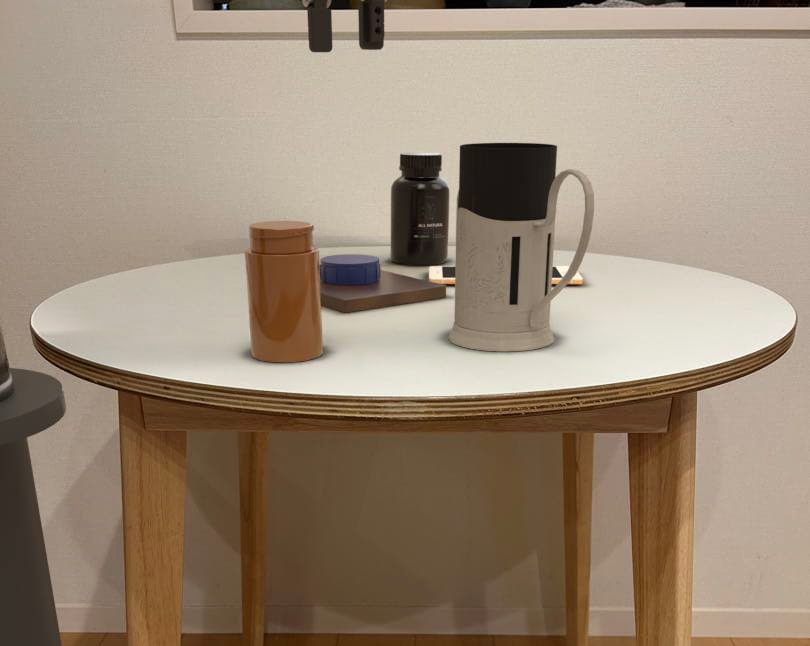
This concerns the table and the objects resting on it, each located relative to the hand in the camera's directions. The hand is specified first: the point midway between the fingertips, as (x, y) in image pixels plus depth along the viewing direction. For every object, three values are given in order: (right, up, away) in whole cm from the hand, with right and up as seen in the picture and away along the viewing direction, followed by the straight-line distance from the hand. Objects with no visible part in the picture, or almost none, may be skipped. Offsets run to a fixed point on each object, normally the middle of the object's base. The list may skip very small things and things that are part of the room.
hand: (345, 51), depth 93 cm
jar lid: (0, -17, +8) cm, 19 cm away
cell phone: (+16, -17, +15) cm, 28 cm away
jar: (-4, -31, -14) cm, 34 cm away
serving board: (0, -20, +9) cm, 22 cm away
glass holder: (+15, -30, -11) cm, 35 cm away
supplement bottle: (+7, -12, +27) cm, 30 cm away
